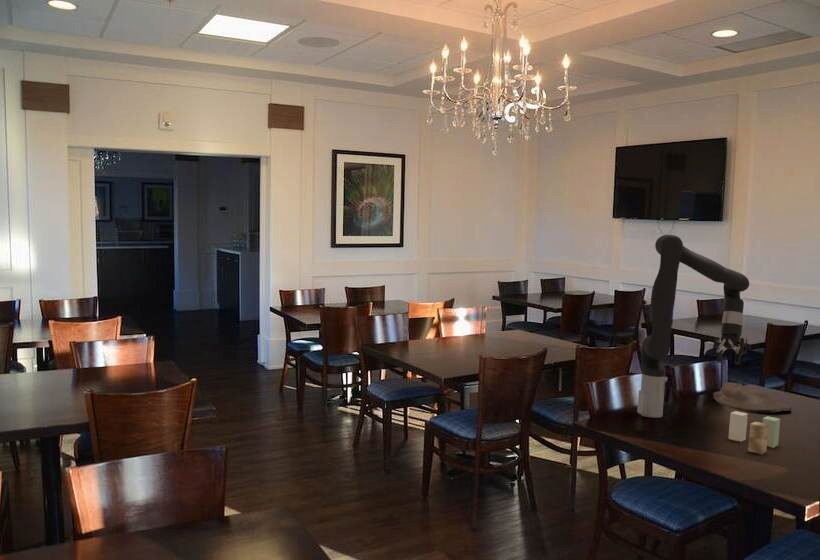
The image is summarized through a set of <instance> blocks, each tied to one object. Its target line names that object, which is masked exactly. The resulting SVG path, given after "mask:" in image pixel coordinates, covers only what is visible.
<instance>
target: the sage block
mask: <svg viewBox="0 0 820 560" xmlns="http://www.w3.org/2000/svg"><path fill="white" fill-rule="evenodd" d="M761 423H764V424H768V425H769V426H768V437H767V447H768V448H772V449H774V448H775V447H777V446H779V439H780V428H781V426H780V425H781V418H777V417H772V416H770V415H769V416H768V415H767V416H765V417H763V418H762V421H761Z"/></svg>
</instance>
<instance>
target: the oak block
mask: <svg viewBox="0 0 820 560" xmlns="http://www.w3.org/2000/svg"><path fill="white" fill-rule="evenodd" d="M749 426H750V427H749V438H748V448H747V451H748V452H751V453H755V454H757V453H758V455H763V454H765V453H767V447H768V446H767V437H768V426H769V425H768V424H764V423H762V422H758V421H754V422H752V423H750V424H749Z"/></svg>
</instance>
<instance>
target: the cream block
mask: <svg viewBox="0 0 820 560" xmlns="http://www.w3.org/2000/svg"><path fill="white" fill-rule="evenodd" d="M748 415H749V413H748V412H747V413H746V412H742V411H741V412H740V411H737V410H734V411H731V412H730V415H729V425H728V426H729V428H728V440H731V441H736V442H739V441H740V442H739V443H742V442H744V441H745V440H747V439H746V437H747V428H748Z"/></svg>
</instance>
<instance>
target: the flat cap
mask: <svg viewBox="0 0 820 560" xmlns="http://www.w3.org/2000/svg"><path fill="white" fill-rule="evenodd" d="M712 395H713V398H714V401H715V402H717V403H718V404H721V405H723V406H725V407H727V408H731V409H734V410H739V411H741V412H742V411H743V412H747V413H748V412H749V413H764V414H765V413H766V414H767V413H776V412H777V413H778V412H781V411H783V412H784V411H785V412H786V411H787V412H788V411H792V407H791V406H790V405H787V404H785V403H782V402H779V401H778V400H776V399H774V398H772V397H771V396H770V395H768V393H765V392H763V391H761V390H758V389H755V388H750V387H747V386H744V385H743V384H742V383H740V382H739V383H737V382H730V381H728V382H725V383H724V384H723V385H722V387H721V388H720V389H719V391H715V392H713V394H712Z"/></svg>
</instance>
